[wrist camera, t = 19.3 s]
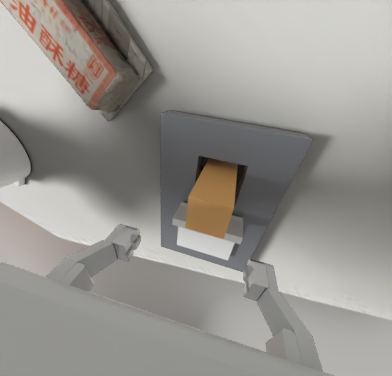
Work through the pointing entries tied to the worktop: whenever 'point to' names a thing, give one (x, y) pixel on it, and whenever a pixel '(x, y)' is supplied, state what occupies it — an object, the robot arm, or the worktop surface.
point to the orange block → (212, 198)
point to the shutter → (208, 236)
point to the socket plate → (235, 153)
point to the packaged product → (86, 48)
